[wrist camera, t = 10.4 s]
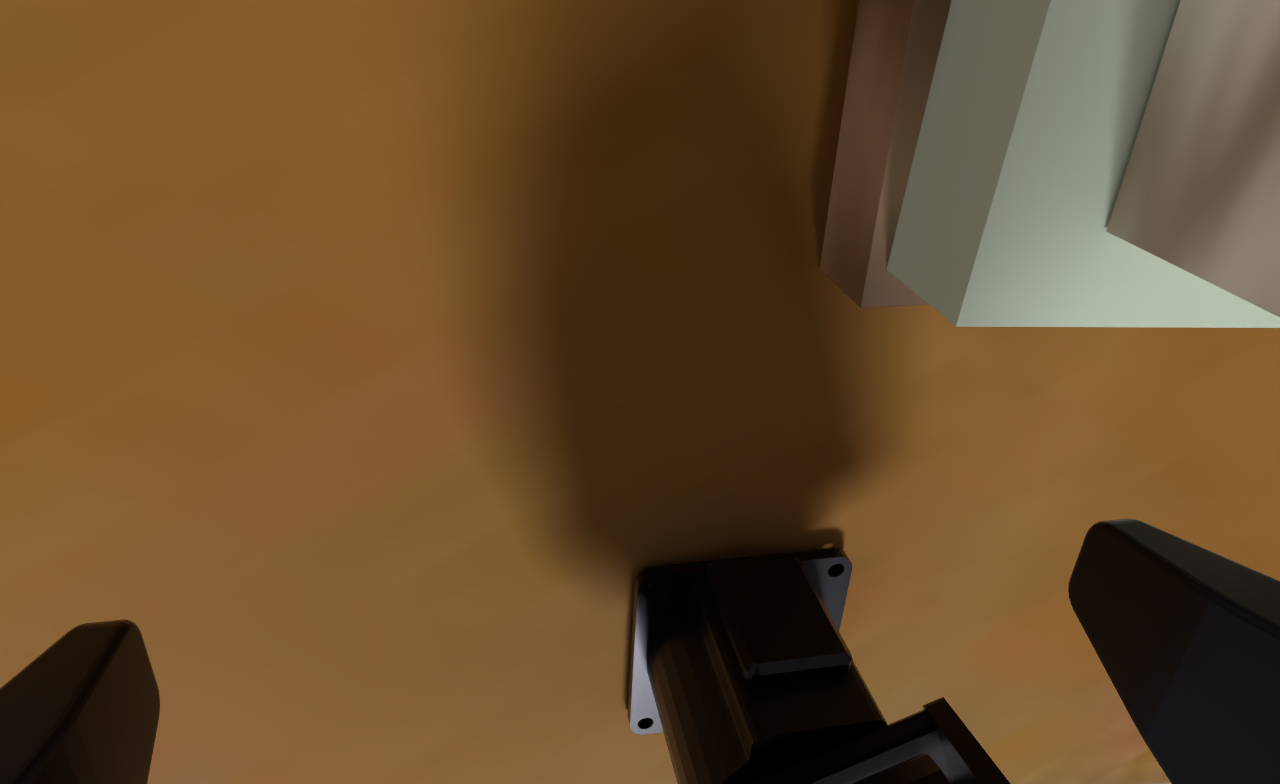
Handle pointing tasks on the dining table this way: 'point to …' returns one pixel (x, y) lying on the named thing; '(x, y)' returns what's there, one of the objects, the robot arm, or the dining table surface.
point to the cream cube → (1212, 151)
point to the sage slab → (1043, 173)
